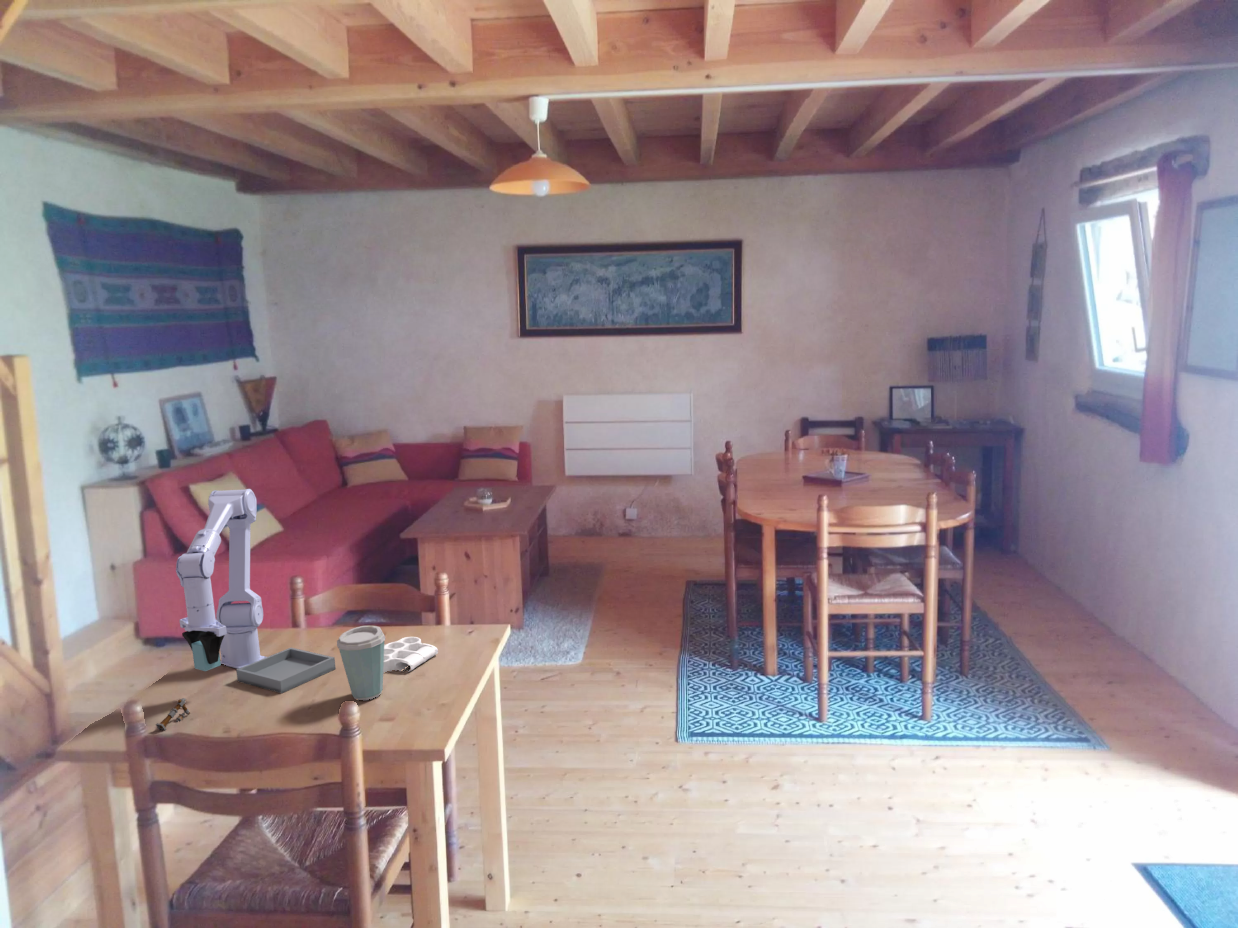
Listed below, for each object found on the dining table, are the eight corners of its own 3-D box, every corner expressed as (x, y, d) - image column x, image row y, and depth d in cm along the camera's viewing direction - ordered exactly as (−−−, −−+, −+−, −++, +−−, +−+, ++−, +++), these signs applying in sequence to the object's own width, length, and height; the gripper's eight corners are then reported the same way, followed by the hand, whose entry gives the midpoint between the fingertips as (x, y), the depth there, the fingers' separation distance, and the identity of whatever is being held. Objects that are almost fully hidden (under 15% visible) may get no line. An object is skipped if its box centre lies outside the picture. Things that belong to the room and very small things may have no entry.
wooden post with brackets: (195, 710, 204) (186, 696, 202) (170, 738, 198) (161, 724, 196) (188, 709, 205) (179, 695, 202) (164, 737, 199) (154, 723, 196)
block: (194, 668, 212) (191, 643, 211) (210, 662, 216) (207, 637, 215) (205, 671, 210) (202, 646, 209) (220, 665, 214) (217, 640, 213)
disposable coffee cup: (372, 707, 203) (366, 642, 201) (331, 702, 207) (325, 638, 205) (399, 688, 213) (394, 626, 211) (360, 683, 217) (354, 622, 214)
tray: (237, 681, 222) (236, 669, 221) (292, 658, 235) (290, 647, 234) (281, 693, 213) (280, 680, 213) (335, 668, 227) (334, 657, 226)
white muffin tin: (403, 679, 219) (353, 672, 225) (445, 652, 236) (397, 646, 241) (402, 666, 219) (352, 659, 224) (444, 639, 235) (396, 634, 241)
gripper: (164, 605, 211) (172, 661, 213) (203, 613, 203) (211, 672, 206) (192, 596, 217) (199, 651, 219) (231, 604, 209) (238, 661, 212)
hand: (207, 660), depth 213 cm, fingers closed on block, 4 cm apart
